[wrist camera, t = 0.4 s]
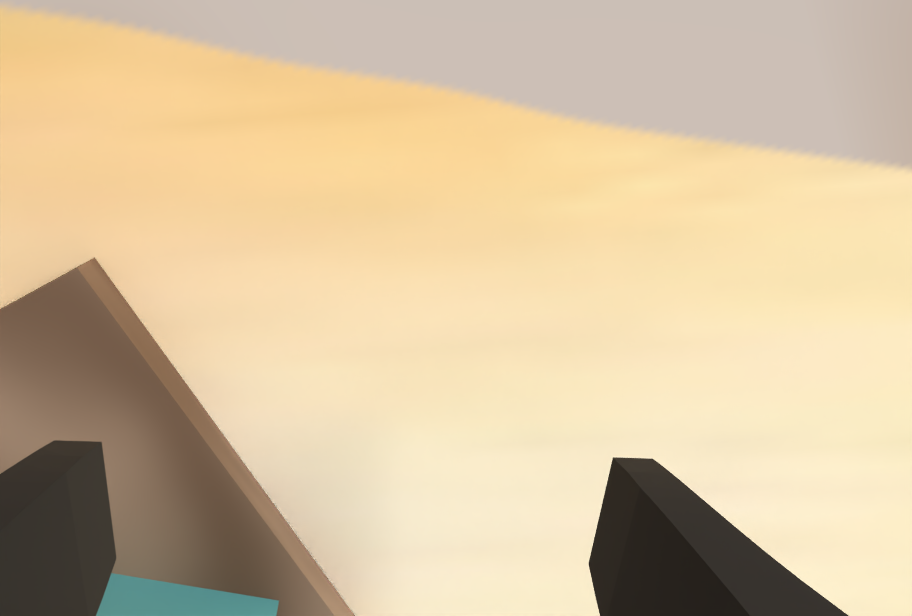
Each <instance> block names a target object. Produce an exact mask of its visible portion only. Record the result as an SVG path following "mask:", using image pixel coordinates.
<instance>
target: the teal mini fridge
mask: <svg viewBox="0 0 912 616" xmlns="http://www.w3.org/2000/svg"><path fill="white" fill-rule="evenodd" d="M278 603H279V601H278V600H272V599H266V598H260V597H254V596H248V595H242V594H236V593H230V592H223V591H217V590H211V589H205V588H199V587H193V586H187V585H181V584H175V583H168V582H162V581H156V580H150V579H144V578H138V577H132V576H126V575H120V574H114V573H111V576H110V578H109V581H108V584H107V587H106V590H105V593H104V596H103V599H102V601H101V604H100V606H99V609H98V612H97V614H96V616H276V615H277V609H278Z"/></svg>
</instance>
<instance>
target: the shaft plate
mask: <svg viewBox="0 0 912 616" xmlns="http://www.w3.org/2000/svg"><path fill="white" fill-rule="evenodd" d="M54 440H61V441H94V442H102V448H103V456H104V464H105V472H106V480H107V487H108V495H109V503H110V511H111V519H112V526H113V534H114V542H115V550H116V561H115V564H114V567H113V570H112V573H114V574H120V575H126V576H132V577H138V578H144V579H150V580H156V581H162V582H168V583H175V584H181V585H187V586H193V587H199V588H205V589H211V590H217V591H223V592H230V593H236V594H242V595H248V596H254V597H260V598H266V599H272V600H278V601H279V603H278V609H277V615H276V616H354V614H353V613H352V612H351V610H350V609H349V607H348V606H347V605H346V603H345V602H344V601H343V599H342V598H341V596H340V595H339V594H338V592H337V591H336V589H335V588H334V587H333V585H332V584H331V583H330V581H329V580H328V578H327V577H326V576H325V574H324V573H323V572H322V570H321V569H320V567H319V566H318V565H317V563H316V562H315V561H314V559H313V558H312V556H311V555H310V554H309V552H308V551H307V550H306V548H305V547H304V545H303V544H302V543H301V541H300V540H299V539H298V537H297V536H296V534H295V533H294V532H293V530H292V529H291V528H290V526H289V525H288V523H287V522H286V521H285V519H284V518H283V517H282V515H281V514H280V512H279V511H278V510H277V508H276V507H275V505H274V504H273V503H272V501H271V500H270V499H269V497H268V496H267V494H266V493H265V492H264V490H263V489H262V488H261V486H260V485H259V483H258V482H257V481H256V479H255V478H254V477H253V475H252V474H251V472H250V471H249V470H248V468H247V467H246V466H245V464H244V463H243V461H242V460H241V459H240V457H239V456H238V455H237V453H236V452H235V450H234V449H233V448H232V446H231V445H230V444H229V442H228V441H227V439H226V438H225V437H224V435H223V434H222V433H221V431H220V430H219V428H218V427H217V426H216V424H215V423H214V421H213V420H212V419H211V417H210V416H209V415H208V413H207V412H206V410H205V409H204V408H203V406H202V405H201V404H200V402H199V401H198V399H197V398H196V397H195V395H194V394H193V393H192V391H191V390H190V388H189V387H188V386H187V384H186V383H185V382H184V380H183V379H182V377H181V376H180V375H179V373H178V372H177V371H176V369H175V368H174V366H173V365H172V364H171V362H170V361H169V360H168V358H167V357H166V355H165V354H164V353H163V351H162V350H161V349H160V347H159V346H158V344H157V343H156V342H155V340H154V339H153V337H152V336H151V335H150V333H149V332H148V331H147V329H146V328H145V326H144V325H143V324H142V322H141V321H140V320H139V318H138V317H137V315H136V314H135V313H134V311H133V310H132V309H131V307H130V306H129V304H128V303H127V302H126V300H125V299H124V298H123V296H122V295H121V293H120V292H119V291H118V289H117V288H116V287H115V285H114V284H113V282H112V281H111V280H110V278H109V277H108V276H107V274H106V273H105V271H104V270H103V269H102V267H101V266H100V265H99V263H98V262H97V260H96V259H95V258H93V259H91V260H90V261H88V262H86V263H84V264H82V265H80V266H79V267H77V268H75V269H73V270H71V271H69V272H68V273H66V274H64V275H62V276H60V277H58V278H57V279H55V280H53V281H51V282H49V283H47V284H46V285H44V286H42V287H40V288H38V289H36V290H35V291H33V292H31V293H29V294H27V295H25V296H24V297H22V298H20V299H18V300H16V301H14V302H13V303H11V304H9V305H7V306H5V307H3V308H2V309H0V474H1V473H2V472H4V471H5V470H7V469H9V468H10V467H12V466H13V465H15V464H16V463H18V462H19V461H21V460H23V459H24V458H26V457H27V456H29V455H30V454H32V453H34V452H35V451H37V450H39V449H40V448H42V447H44V446H45V445H47V444H49V443H51V442H52V441H54Z"/></svg>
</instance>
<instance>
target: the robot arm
mask: <svg viewBox="0 0 912 616" xmlns="http://www.w3.org/2000/svg"><path fill="white" fill-rule="evenodd" d="M115 561H116V550H115V542H114V534H113V526H112V519H111V511H110V503H109V495H108V487H107V480H106V472H105V464H104V456H103V448H102V442H94V441H61V440H54V441H52V442H51V443H49V444H47V445H45V446H44V447H42V448H40V449H39V450H37V451H35V452H34V453H32V454H30V455H29V456H27V457H26V458H24V459H23V460H21V461H19V462H18V463H16V464H15V465H13V466H12V467H10V468H9V469H7V470H5V471H4V472H2V473H1V474H0V616H96V614H97V612H98V609H99V606H100V604H101V601H102V599H103V596H104V593H105V590H106V587H107V584H108V581H109V578H110V576H111V573H112V570H113V567H114V564H115ZM589 568H590V572H591V577H592V582H593V586H594V591H595V596H596V600H597V604H598V609H599V613H600V616H848V615H847V614H845V613H844V612H843V611H841V610H840V609H839V608H837V607H836V606H835V605H833V604H832V603H831V602H829V601H828V600H827V599H825V598H824V597H823V596H821V595H820V594H819V593H817V592H816V591H815V590H813V589H812V588H811V587H809V586H808V585H807V584H805V583H804V582H803V581H801V580H800V579H799V578H797V577H796V576H795V575H794V574H792V573H791V572H790V571H789V570H787V569H786V568H785V567H784V566H782V565H781V564H780V563H778V562H777V561H776V560H775V559H773V558H772V557H771V556H770V555H768V554H767V553H766V552H765V551H763V550H762V549H761V548H760V547H759V546H757V545H756V544H755V543H754V542H753V541H751V540H750V539H749V538H748V537H746V536H745V535H744V534H743V533H742V532H740V531H739V530H738V529H737V528H736V527H734V526H733V525H732V524H731V523H730V522H728V521H727V520H726V519H725V518H724V517H723V516H721V515H720V514H719V513H718V512H717V511H715V510H714V509H713V508H712V507H711V506H710V505H708V504H707V503H706V502H705V501H704V500H703V499H701V498H700V497H699V496H698V495H697V494H695V493H694V492H693V491H692V490H691V489H690V488H688V487H687V486H686V485H685V484H684V483H682V482H681V481H680V480H679V479H678V478H676V477H675V476H674V475H673V474H672V473H670V472H669V471H668V470H667V469H665V468H664V467H663V466H661V465H660V464H659V463H657V462H656V461H655V460H653V459H642V458H613V460H612V464H611V469H610V473H609V477H608V482H607V486H606V490H605V495H604V499H603V504H602V508H601V512H600V517H599V521H598V525H597V530H596V534H595V538H594V543H593V547H592V551H591V556H590V560H589Z"/></svg>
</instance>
